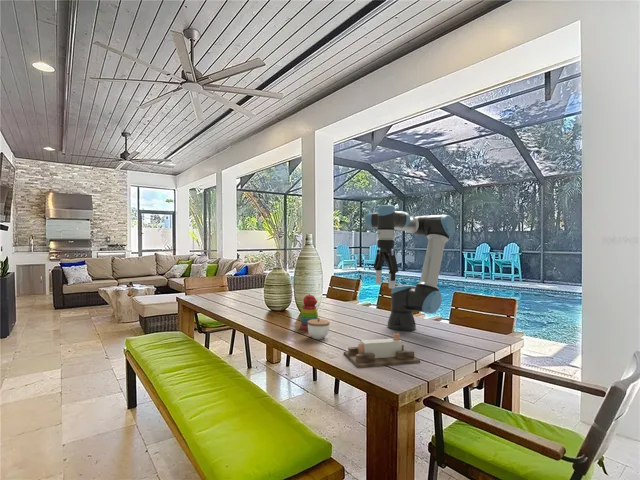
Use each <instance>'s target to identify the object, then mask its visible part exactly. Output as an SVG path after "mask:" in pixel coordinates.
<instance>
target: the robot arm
mask: <svg viewBox="0 0 640 480" xmlns="http://www.w3.org/2000/svg"><path fill="white" fill-rule="evenodd" d="M364 223H365V225H366V227H368V228H372V229H375V228H376V229H377V232H376V234H377V239H378V240H377V242H376V243H377V244H376V246H377V248H378V249H376V255H375V259H374V264H373V269H374V270H375V285H382V283H383V282H382V279H383V278H382V277H383V275H382V272H383V271H382V270H383V265H384V263H385V262H386V265H387V268H388V271H389V272H388V289H391V292H390V295H391V296H390V314H389V318H388V320H387V328H388V329H391V330H395V331H405V332H406V331H407V332H408V331H413V330H416V329H417V324H416V320H415V318H414V314H413V312H421V313H424V314H435V313H436V312H438V311H439V309H440V307H441V305H442V302H443V298H442V297H443V296H442V293H441V292H440V288H439V287H438V281H439V276H440V271H441V265H442V260H443V256H444V250H445V245H446V243H447V242H449V241H450V237H453V236H454V235H455V232H456V225H455V221H454V219H453V217H452V216H451V215H449V214H436V215H435V214H434V215H419V216H412V215H411V216H410V214H409V213H408V212H406V211H401V210H400V211H398V210H396V208H395V205H393V204H382V205H379V206H378V209H377V212H369V213H367V214H366V215H365V218H364ZM395 231H402V232H407V233H408V234H413V235H417V236H422V237H426V239H427V240H428V242H427V246H426V247H427V248H426V250H425V251H426V253H425V256H424V261H423V266H422V271H421V276H420V279H419V282H418V283H416V284H415V288H414V285H412V284H407V285H406V284H399V285H396V273H399V267H398V263H397V262H398V261H397V258H396V250H392V249H394V248H395Z"/></svg>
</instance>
